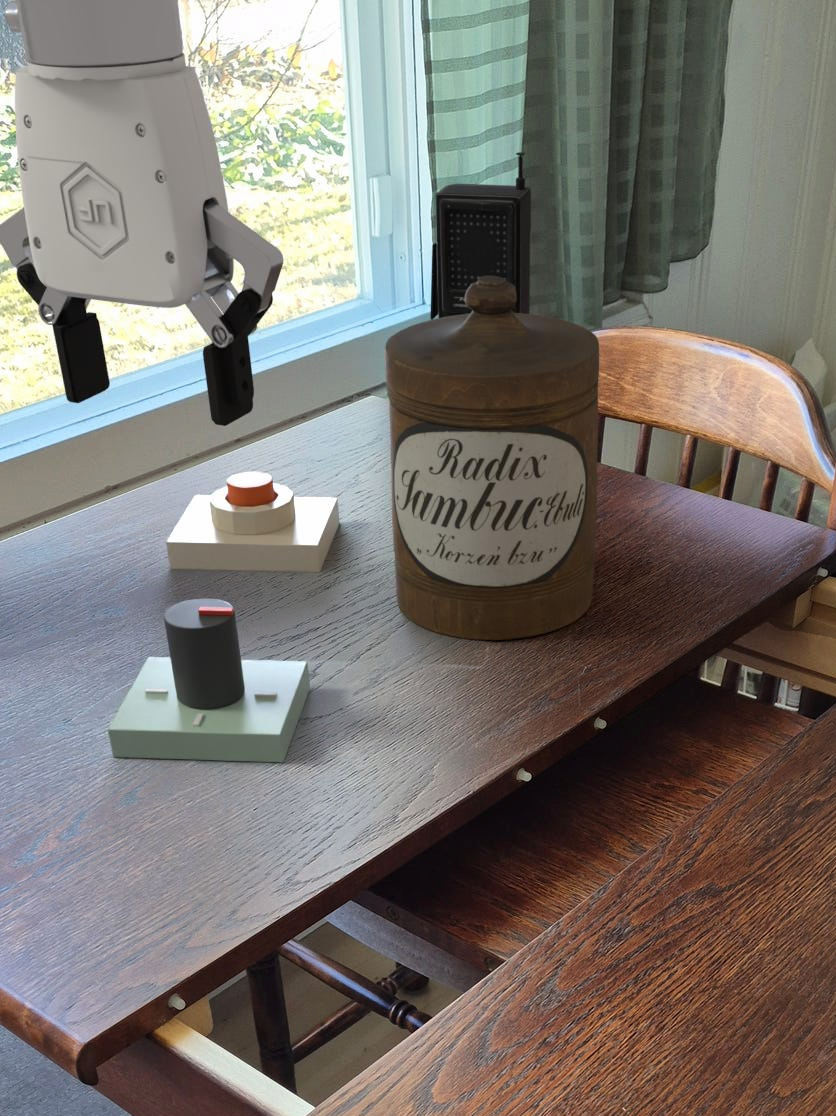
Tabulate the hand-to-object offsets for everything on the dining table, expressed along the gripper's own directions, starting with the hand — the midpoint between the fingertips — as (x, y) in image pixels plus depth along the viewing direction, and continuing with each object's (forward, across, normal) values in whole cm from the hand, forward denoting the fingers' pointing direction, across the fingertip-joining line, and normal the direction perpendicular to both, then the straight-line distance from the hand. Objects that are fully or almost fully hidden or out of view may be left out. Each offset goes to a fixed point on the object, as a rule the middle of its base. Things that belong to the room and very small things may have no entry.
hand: (159, 406), depth 80 cm
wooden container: (+21, +8, +26) cm, 34 cm away
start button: (+17, -14, +27) cm, 35 cm away
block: (+20, -14, +28) cm, 37 cm away
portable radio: (+20, -3, +48) cm, 52 cm away
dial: (+18, -1, +1) cm, 18 cm away
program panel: (+20, -1, +1) cm, 20 cm away
